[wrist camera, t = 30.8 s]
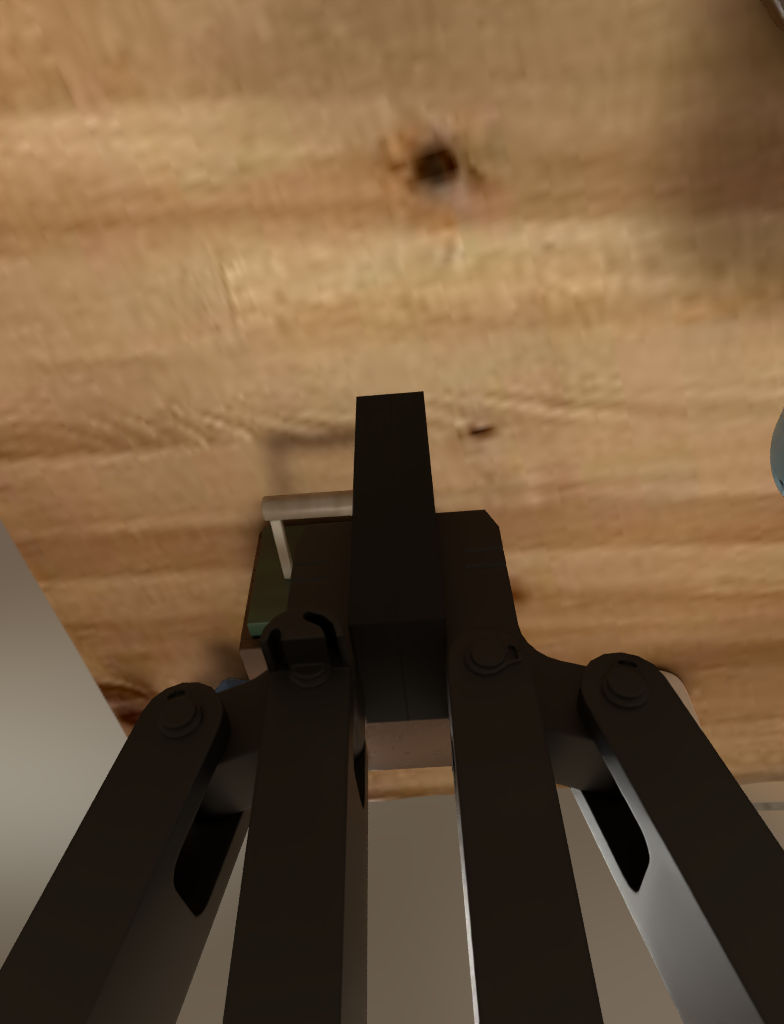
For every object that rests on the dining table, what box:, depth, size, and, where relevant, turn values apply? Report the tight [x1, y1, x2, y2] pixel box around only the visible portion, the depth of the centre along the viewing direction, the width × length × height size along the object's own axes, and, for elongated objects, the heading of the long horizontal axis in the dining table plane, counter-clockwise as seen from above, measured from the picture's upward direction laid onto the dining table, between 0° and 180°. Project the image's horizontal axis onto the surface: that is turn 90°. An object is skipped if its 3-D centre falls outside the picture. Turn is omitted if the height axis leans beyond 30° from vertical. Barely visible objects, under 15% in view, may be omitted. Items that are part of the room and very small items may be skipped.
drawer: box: [247, 490, 353, 636], centre depth 46 cm, size 20×11×8 cm, turn 4°
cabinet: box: [239, 532, 452, 771], centre depth 49 cm, size 15×13×10 cm
